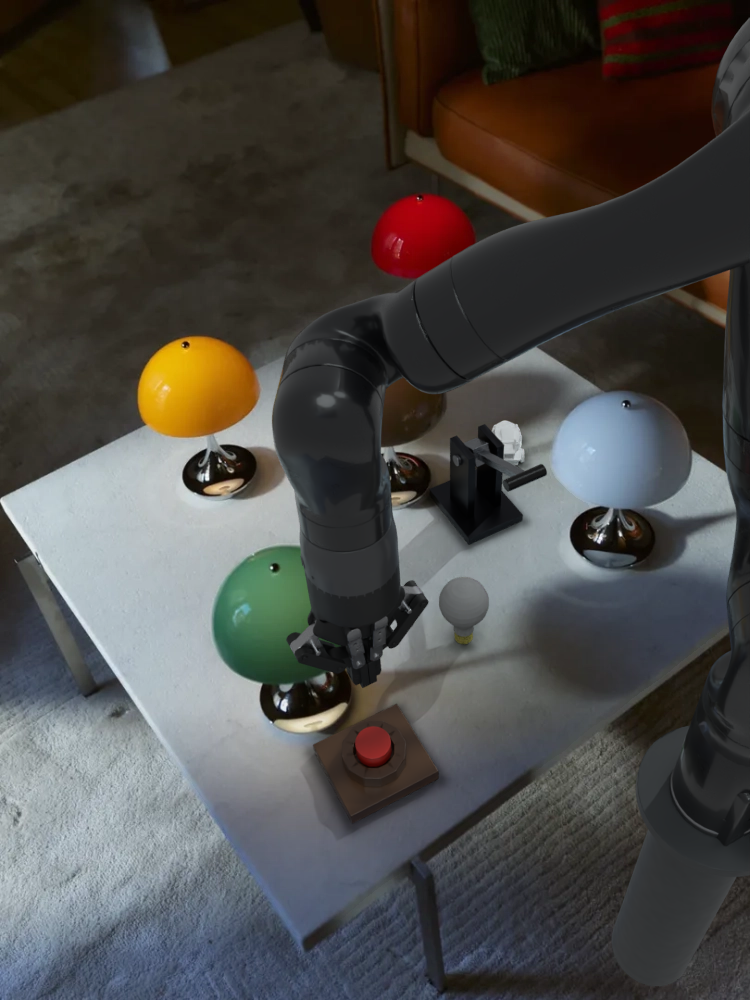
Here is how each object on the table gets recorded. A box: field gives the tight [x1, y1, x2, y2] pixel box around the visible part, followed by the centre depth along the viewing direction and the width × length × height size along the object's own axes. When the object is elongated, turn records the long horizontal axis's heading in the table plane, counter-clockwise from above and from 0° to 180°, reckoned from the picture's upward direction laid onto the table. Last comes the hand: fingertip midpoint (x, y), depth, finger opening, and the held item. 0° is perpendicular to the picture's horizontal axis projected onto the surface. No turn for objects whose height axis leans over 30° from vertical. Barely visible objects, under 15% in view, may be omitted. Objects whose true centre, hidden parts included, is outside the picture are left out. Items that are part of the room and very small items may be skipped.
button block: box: [312, 703, 440, 824], centre depth 97 cm, size 9×10×4 cm
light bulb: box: [438, 576, 490, 645], centre depth 105 cm, size 6×6×10 cm
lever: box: [463, 437, 548, 493], centre depth 111 cm, size 13×5×2 cm, turn 27°
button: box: [355, 726, 392, 767], centre depth 96 cm, size 4×4×2 cm
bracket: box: [428, 423, 524, 545], centre depth 118 cm, size 10×8×12 cm
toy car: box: [491, 420, 526, 466], centre depth 128 cm, size 5×8×4 cm, turn 178°
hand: (365, 677), depth 86 cm, fingers closed
